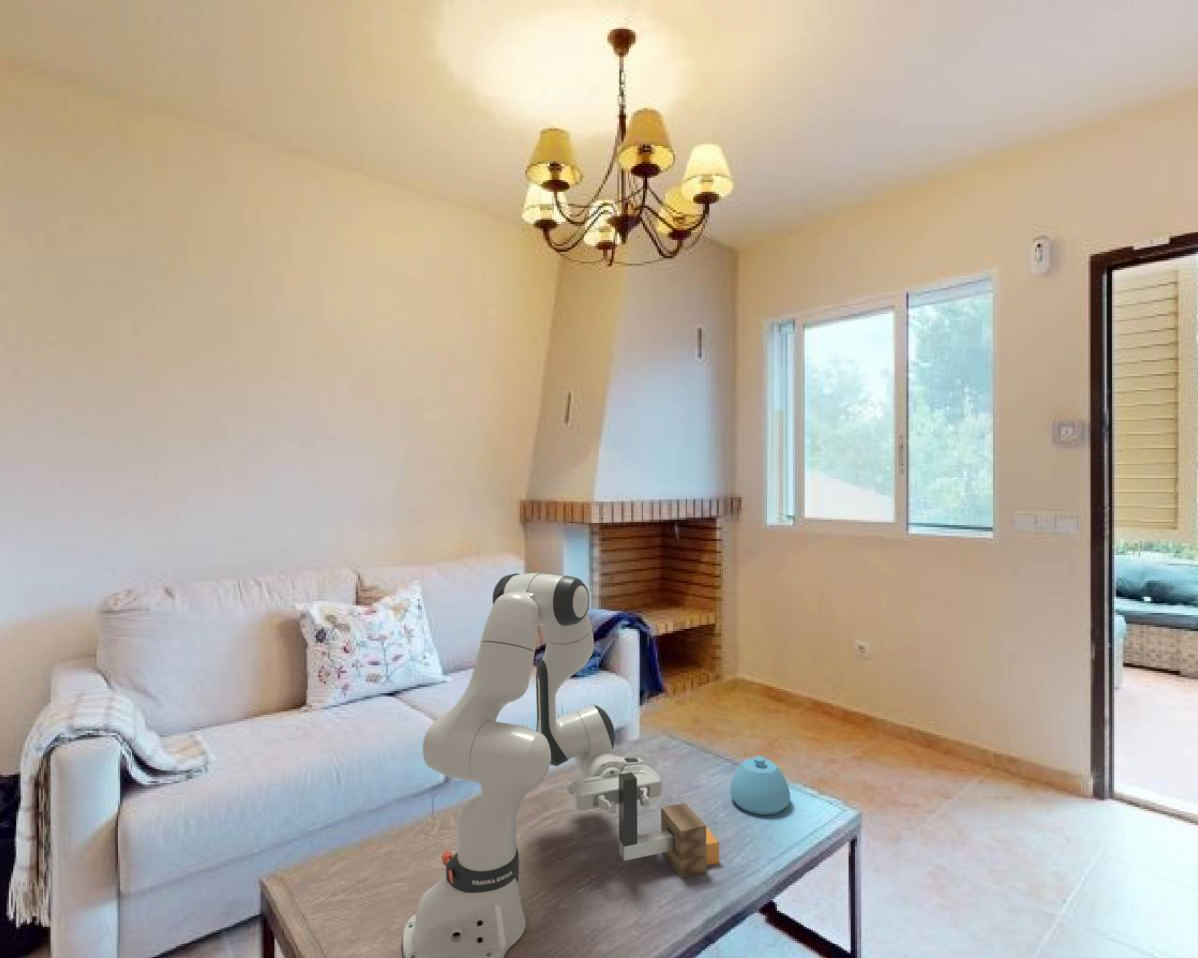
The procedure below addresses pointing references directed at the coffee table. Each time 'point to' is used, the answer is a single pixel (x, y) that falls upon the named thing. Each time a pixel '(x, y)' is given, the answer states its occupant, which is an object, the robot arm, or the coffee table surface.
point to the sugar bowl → (760, 787)
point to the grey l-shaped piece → (628, 837)
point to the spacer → (711, 848)
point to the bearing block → (685, 839)
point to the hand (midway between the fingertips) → (629, 806)
